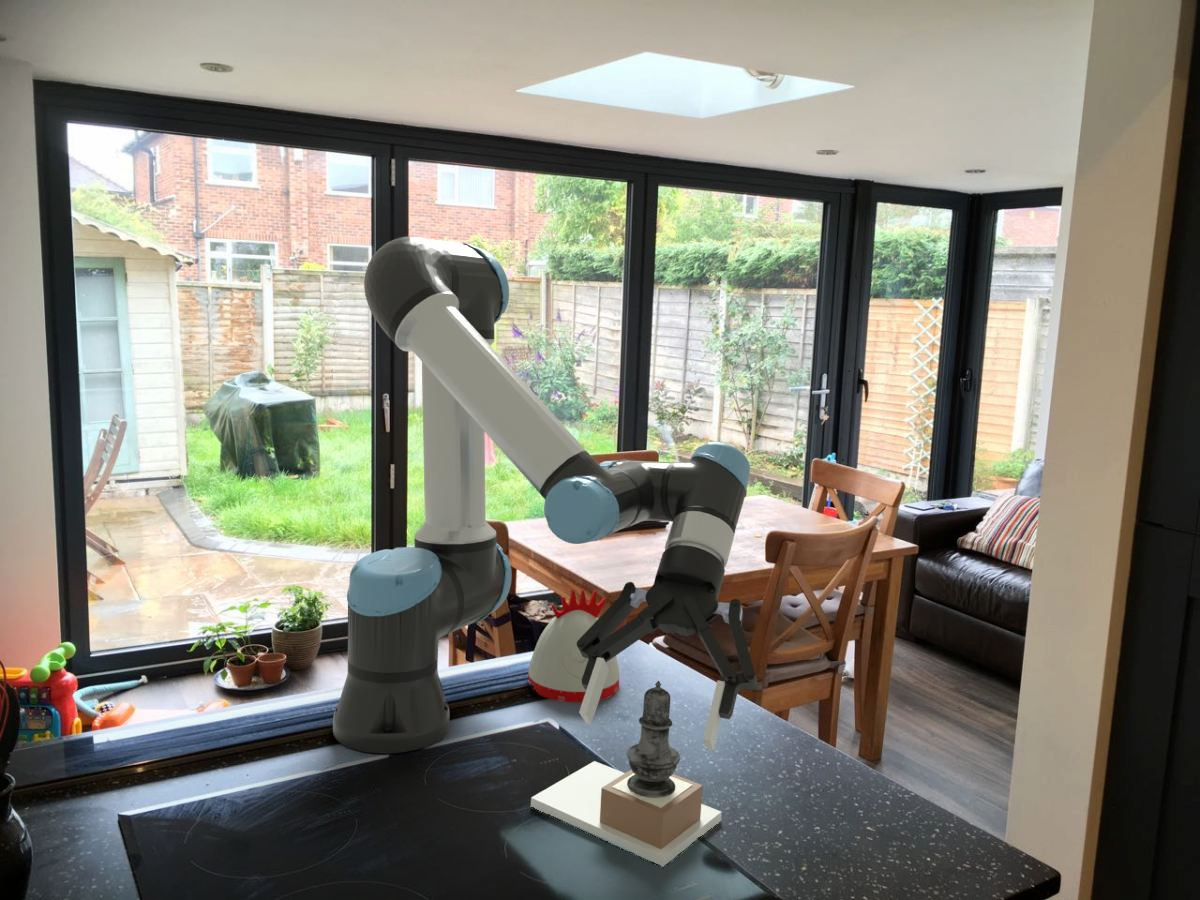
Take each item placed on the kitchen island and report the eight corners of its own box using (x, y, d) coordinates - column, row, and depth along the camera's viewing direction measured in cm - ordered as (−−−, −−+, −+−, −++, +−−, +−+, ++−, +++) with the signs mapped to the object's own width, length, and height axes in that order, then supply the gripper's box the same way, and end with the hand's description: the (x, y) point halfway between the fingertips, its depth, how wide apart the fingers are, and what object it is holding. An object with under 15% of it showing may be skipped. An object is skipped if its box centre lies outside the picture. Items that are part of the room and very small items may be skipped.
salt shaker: (674, 802, 101) (682, 694, 99) (619, 794, 102) (626, 687, 100) (681, 777, 106) (688, 674, 105) (629, 769, 108) (636, 667, 106)
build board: (530, 807, 109) (532, 763, 108) (593, 770, 118) (596, 729, 117) (663, 867, 98) (666, 820, 97) (720, 821, 108) (724, 777, 107)
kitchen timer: (627, 701, 140) (632, 603, 138) (534, 704, 137) (538, 603, 135) (608, 666, 153) (613, 576, 151) (523, 668, 151) (527, 576, 148)
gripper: (803, 592, 109) (766, 770, 98) (602, 561, 118) (546, 721, 107) (799, 557, 104) (759, 742, 92) (588, 528, 113) (527, 693, 101)
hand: (645, 731), depth 99 cm, fingers open, 13 cm apart
